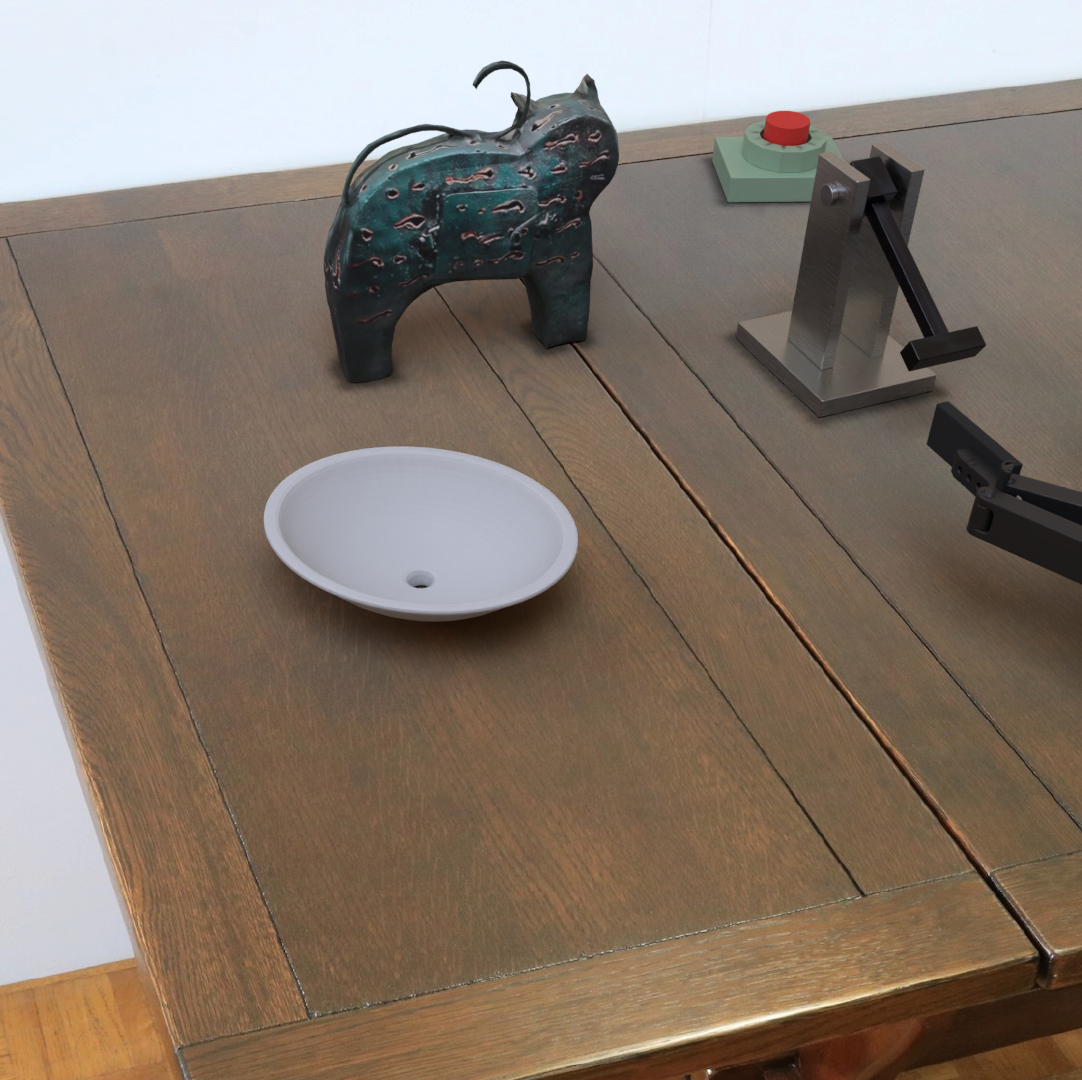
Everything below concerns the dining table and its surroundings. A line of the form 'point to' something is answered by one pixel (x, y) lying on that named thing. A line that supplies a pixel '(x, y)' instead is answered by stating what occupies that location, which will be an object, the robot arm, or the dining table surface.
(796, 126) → the button
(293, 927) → the dining table surface
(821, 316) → the bracket
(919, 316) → the lever
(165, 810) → the dining table surface
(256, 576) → the dining table surface
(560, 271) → the ceramic cat
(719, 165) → the button box
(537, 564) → the white oval sink basin
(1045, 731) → the dining table surface
